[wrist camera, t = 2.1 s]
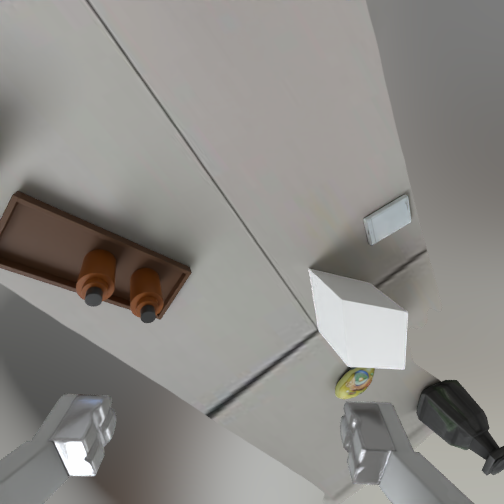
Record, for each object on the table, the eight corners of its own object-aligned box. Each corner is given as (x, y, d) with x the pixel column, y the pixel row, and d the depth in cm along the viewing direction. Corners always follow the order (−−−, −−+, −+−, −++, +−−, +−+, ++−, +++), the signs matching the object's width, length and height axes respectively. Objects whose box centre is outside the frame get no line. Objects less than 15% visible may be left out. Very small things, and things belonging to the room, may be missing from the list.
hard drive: (408, 195, 75) (367, 220, 73) (411, 222, 79) (372, 246, 78) (403, 194, 76) (362, 218, 75) (406, 220, 80) (368, 243, 79)
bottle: (411, 413, 132) (478, 487, 107) (418, 389, 125) (491, 462, 99) (443, 398, 137) (514, 466, 112) (451, 374, 129) (529, 440, 104)
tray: (-14, 254, 50) (-21, 261, 48) (17, 190, 48) (12, 194, 46) (159, 312, 66) (160, 319, 64) (189, 266, 64) (191, 272, 62)
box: (337, 240, 75) (376, 266, 63) (394, 315, 97) (431, 345, 85) (279, 295, 76) (307, 331, 64) (348, 357, 98) (378, 393, 86)
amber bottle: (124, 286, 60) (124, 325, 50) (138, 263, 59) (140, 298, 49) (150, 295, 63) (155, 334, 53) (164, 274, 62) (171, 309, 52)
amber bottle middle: (77, 269, 56) (65, 308, 45) (91, 244, 55) (82, 278, 44) (107, 280, 59) (103, 319, 48) (121, 256, 58) (120, 291, 47)
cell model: (329, 390, 98) (373, 375, 93) (326, 370, 105) (367, 355, 99) (344, 408, 102) (388, 395, 97) (340, 388, 108) (381, 374, 103)
